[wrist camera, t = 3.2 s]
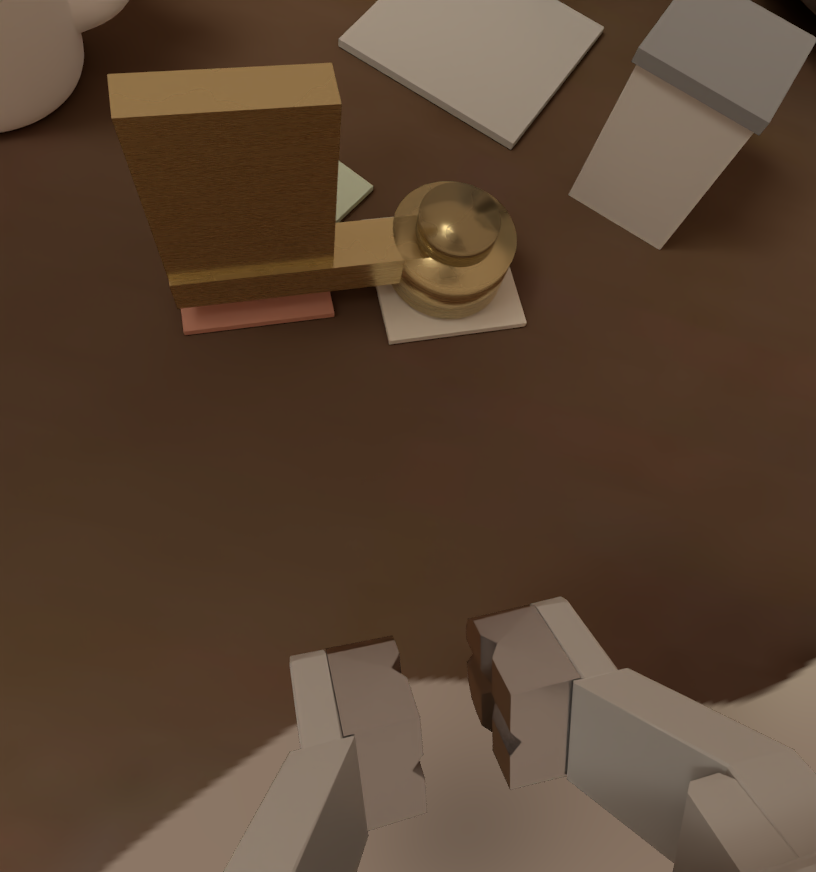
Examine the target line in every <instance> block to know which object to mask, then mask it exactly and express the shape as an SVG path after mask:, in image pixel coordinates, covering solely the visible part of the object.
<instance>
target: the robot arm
mask: <svg viewBox="0 0 816 872" xmlns="http://www.w3.org/2000/svg"><path fill="white" fill-rule="evenodd" d="M466 639H467V642H468V644H469V646H470V648H471V650H472V653H473V654H472V656H471V657H470V658H469V660H468V661H467V669H468V681H469V686H470V691H471V697H472V700H473V703H474V706H475V710H476V712H477V715H478V717H479V719H480V722H481V724H482V726H484V727H485V728H487V729H488V730H490V731H491V732H493V733H492V737H493V752H494V755H495V757H496V759H497V761H498V764H499V766H500V768H501V771H502V773H503V775H504V777H505V779H506V782H507V784H508V786H509V789H510V790H512V789H516V788H521V787H525V786H529V785H533V784H537V783H541V782H545V781H549V780H553V779H557V778H561V777H565V776H567V780H568V781H570V782H571V783H572V784H574V785H575V786H576V787H577V788H579V789H580V790H581V791H582V792H584V793H585V794H586V795H588V796H589V797H590V798H591V799H593V800H594V801H595V802H597V803H598V804H599V805H600V806H602V807H603V808H604V809H605V810H607V811H608V812H609V813H611V814H612V815H613V816H614V817H616V818H617V819H618V820H619V821H621V822H622V823H623V824H625V825H626V826H627V827H628V828H630V829H631V830H632V831H634V832H635V833H636V834H637V835H639V836H640V837H641V838H642V839H644V840H645V841H646V842H648V843H649V844H650V845H651V846H653V847H654V848H655V849H657V850H658V851H659V852H660V853H662V854H663V855H664V856H666V857H667V858H668V859H669V860H671V861H672V862H673V863H674V868H673V872H816V773H815V772H814V771H813V770H812V769H811V768H810V767H809V766H808V765H807V764H806V762H805V761H804V760H803V759H802V758H801V757H800V756H799V755H798V754H797V753H796V751H795V750H794V749H792V748H790V747H788V746H786V745H784V744H782V743H780V742H778V741H776V740H773V739H772V738H769V737H768V736H766V735H764V734H762V733H759V732H757V731H755V730H753V729H751V728H749V727H747V726H745V725H743V724H741V723H739V722H737V721H735V720H733V719H731V718H729V717H727V716H725V715H723V714H721V713H719V712H717V711H715V710H713V709H710V708H708V707H706V706H704V705H702V704H700V703H698V702H696V701H694V700H692V699H690V698H688V697H686V696H684V695H682V694H680V693H678V692H676V691H674V690H672V689H670V688H668V687H666V686H664V685H662V684H659V683H657V682H655V681H653V680H651V679H649V678H647V677H645V676H643V675H641V674H639V673H637V672H635V671H633V670H631V669H629V668H625V669H620V670H618V669H617V667H616V666H615V665H614V663H613V662H612V661H611V659H610V658H609V657H608V655H607V654H606V652H605V651H604V650H603V648H602V647H601V646H600V644H599V643H598V642H597V640H596V639H595V637H594V636H593V635H592V633H591V632H590V631H589V629H588V628H587V627H586V625H585V624H584V622H583V621H582V620H581V618H580V617H579V616H578V614H577V613H576V612H575V610H574V609H573V607H572V606H571V605H570V603H569V602H568V601H567V600H566V599H565V598H563V597H561V596H560V597H556V598H552V599H548V600H544V601H540V602H535V603H531V604H530V605H524V606H520V607H516V608H511V609H507V610H503V611H498V612H494V613H490V614H485V615H481V616H477V617H472V618H468V620H467V625H466ZM290 672H291V680H292V687H293V695H294V703H295V711H296V719H297V727H298V735H299V743H300V749H298V750H294V751H291V752H289V754H288V756H287V757H286V759H285V761H284V763H283V765H282V766H281V768H280V770H279V772H278V774H277V775H276V777H275V779H274V781H273V783H272V784H271V786H270V788H269V790H268V792H267V793H266V795H265V797H264V799H263V801H262V802H261V804H260V806H259V808H258V810H257V812H256V814H255V815H254V817H253V819H252V821H251V822H250V824H249V826H248V828H247V830H246V831H245V833H244V835H243V837H242V839H241V840H240V842H239V844H238V846H237V848H236V850H235V852H234V853H233V855H232V857H231V859H230V861H229V862H228V864H227V866H226V868H225V869H224V871H223V872H357V869H358V866H359V863H360V860H361V856H362V854H363V850H364V847H365V844H366V841H367V838H368V831H370V830H373V829H377V828H380V827H383V826H386V825H390V824H393V823H396V822H399V821H402V820H405V819H409V818H412V817H415V816H419V815H422V814H425V813H427V803H426V787H425V778H424V774H423V771H422V768H421V764H420V761H419V760H420V759H421V757H422V756H423V745H422V734H421V723H420V716H419V712H418V709H417V706H416V703H415V700H414V697H413V694H412V690H411V687H410V684H409V681H408V678H407V677H405V676H404V675H402V674H401V666H400V656H399V651H398V648H397V646H396V643H395V640H394V638H393V636H387V637H382V638H377V639H372V640H367V641H361V642H356V643H351V644H346V645H341V646H336V647H331V648H326V653H325V650H320V651H315V652H309V653H304V654H299V655H294V656H290Z"/></svg>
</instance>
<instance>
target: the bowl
mask: <svg viewBox="0 0 816 872" xmlns="http://www.w3.org/2000/svg"><path fill="white" fill-rule="evenodd" d="M801 1H802V2H803V3H804V4H805V5H806V6H807V7H808V8H809V9H810V10H811V11H812V12H813V13H814V14H815V15H816V0H801Z"/></svg>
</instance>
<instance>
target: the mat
mask: <svg viewBox="0 0 816 872" xmlns="http://www.w3.org/2000/svg"><path fill="white" fill-rule="evenodd" d="M603 29H604V27H603V26H601V25H600V24H598V23H596V22H594V21H593V20H591V19H589V18H587V17H586V16H584V15H582V14H580V13H579V12H577V11H575V10H574V9H572V8H570V7H568V6H567V5H565V4H563V3H561V2H560V1H558V0H378V1H377V2H376V3H375V4H374V5H373V6H372V7H371V8H370V9H369V10H368V11H367V12H366V13H365V14H364V15H363V16H362V17H361V18H360V19H359V20H358V21H356V22H355V23H354V24H353V25H352V26H351V27H350V28H349V29H348V30H347V31H346V32H345V33H344V34H343V35H342V36H341V37H340V38H339V43H338V46H339V47H341V48H342V49H344V50H346V51H347V52H349V53H351V54H352V55H354V56H356V57H357V58H359V59H361V60H362V61H364V62H366V63H367V64H369V65H371V66H372V67H374V68H376V69H377V70H379V71H381V72H382V73H384V74H386V75H387V76H389V77H391V78H392V79H394V80H396V81H397V82H399V83H401V84H402V85H404V86H406V87H407V88H409V89H411V90H412V91H414V92H416V93H417V94H419V95H420V96H422V97H424V98H425V99H427V100H429V101H430V102H432V103H434V104H435V105H437V106H439V107H440V108H442V109H444V110H445V111H447V112H449V113H450V114H452V115H454V116H455V117H457V118H459V119H460V120H462V121H464V122H465V123H467V124H469V125H470V126H472V127H474V128H475V129H477V130H479V131H480V132H482V133H484V134H485V135H487V136H489V137H490V138H492V139H494V140H495V141H497V142H499V143H500V144H502V145H504V146H505V147H507V148H509V149H510V150H511V149H512V148H513V147H514V145H515V144H516V143H517V141H518V140H519V139H520V138H521V136H522V135H523V134H524V133H525V131H526V130H527V129H528V127H529V126H530V125H531V124H532V122H533V121H534V120H535V118H536V117H537V116H538V115H539V113H540V112H541V111H542V109H543V108H544V107H545V106H546V104H547V103H548V102H549V100H550V99H551V98H552V97H553V95H554V94H555V93H556V92H557V90H558V89H559V88H560V86H561V85H562V84H563V83H564V81H565V80H566V79H567V77H568V76H569V75H570V74H571V72H572V71H573V70H574V68H575V67H576V66H577V65H578V63H579V62H580V61H581V60H582V58H583V57H584V56H585V54H586V53H587V52H588V51H589V49H590V48H591V47H592V45H593V44H594V43H595V42H596V40H597V39H598V38H599V36H600V35H601V34H602V31H603Z"/></svg>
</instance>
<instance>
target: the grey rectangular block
mask: <svg viewBox="0 0 816 872" xmlns="http://www.w3.org/2000/svg"><path fill="white" fill-rule="evenodd" d="M815 43H816V37H814V36H813V35H811V34H809V33H807V32H805V31H804V30H802V29H800V28H798V27H797V26H795V25H793V24H791V23H789V22H788V21H786V20H784V19H782V18H781V17H779V16H777V15H775V14H773V13H772V12H770V11H768V10H766V9H765V8H763V7H761V6H759V5H757V4H756V3H754V2H752V1H750V0H673V1H672V3H671V4H670V5H669V7H668V8H667V9H666V11H665V12H664V14H663V15H662V16H661V18H660V19H659V20H658V22H657V23H656V24H655V26H654V27H653V28H652V30H651V31H650V33H649V34H648V35H647V37H646V38H645V39H644V41H643V42H642V43H641V45H640V46H639V47H638V49H637V51H636V53H635V55H634V57H633V59H632V61H631V62H633V63H634V64H636V66H635V68H634V70H633V72H632V74H631V76H630V78H629V80H628V82H627V84H626V85H625V87H624V89H623V91H622V93H621V95H620V97H619V99H618V101H617V103H616V105H615V106H614V108H613V110H612V112H611V114H610V116H609V118H608V120H607V122H606V124H605V126H604V128H603V129H602V131H601V133H600V135H599V137H598V139H597V141H596V143H595V145H594V147H593V149H592V150H591V152H590V154H589V156H588V158H587V160H586V162H585V164H584V166H583V168H582V170H581V172H580V173H579V175H578V177H577V179H576V181H575V183H574V185H573V187H572V189H571V191H570V193H569V194H568V195H569V196H571V197H572V198H574V199H576V200H577V201H579V202H581V203H582V204H584V205H586V206H587V207H589V208H591V209H592V210H594V211H596V212H597V213H599V214H601V215H602V216H604V217H606V218H607V219H609V220H611V221H612V222H614V223H616V224H617V225H619V226H621V227H622V228H624V229H625V230H627V231H629V232H630V233H632V234H634V235H635V236H637V237H639V238H640V239H642V240H644V241H645V242H647V243H649V244H650V245H652V246H654V247H655V248H657V249H659V250H660V249H661V248H662V247H663V245H664V244H665V243H666V242H667V240H668V239H669V238H670V237H671V235H672V234H673V233H674V232H675V230H676V229H677V228H678V227H679V225H680V224H681V223H682V222H683V220H684V219H685V218H686V217H687V215H688V214H689V213H690V212H691V210H692V209H693V208H694V207H695V205H696V204H697V203H698V202H699V200H700V199H701V198H702V197H703V195H704V194H705V193H706V192H707V190H708V189H709V188H710V187H711V185H712V184H713V183H714V182H715V180H716V179H717V178H718V177H719V175H720V174H721V173H722V172H723V170H724V169H725V168H726V167H727V165H728V164H729V163H730V162H731V160H732V159H733V158H734V157H735V155H736V154H737V153H738V152H739V150H740V149H741V148H742V147H743V145H744V144H745V143H746V142H747V140H748V139H749V138H750V137H751V135H752V134H753V133H755V134H757V135H760V134H761V133H762V131H763V130H764V129H765V128H766V127H767V125H768V124H769V123H770V121H771V119H772V118H773V116H774V114H775V112H776V111H777V109H778V107H779V105H780V104H781V102H782V100H783V98H784V97H785V95H786V93H787V91H788V90H789V88H790V86H791V84H792V83H793V81H794V79H795V77H796V76H797V74H798V72H799V70H800V69H801V67H802V65H803V63H804V62H805V60H806V58H807V57H808V55H809V53H810V51H811V50H812V48H813V46H814V44H815Z"/></svg>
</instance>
